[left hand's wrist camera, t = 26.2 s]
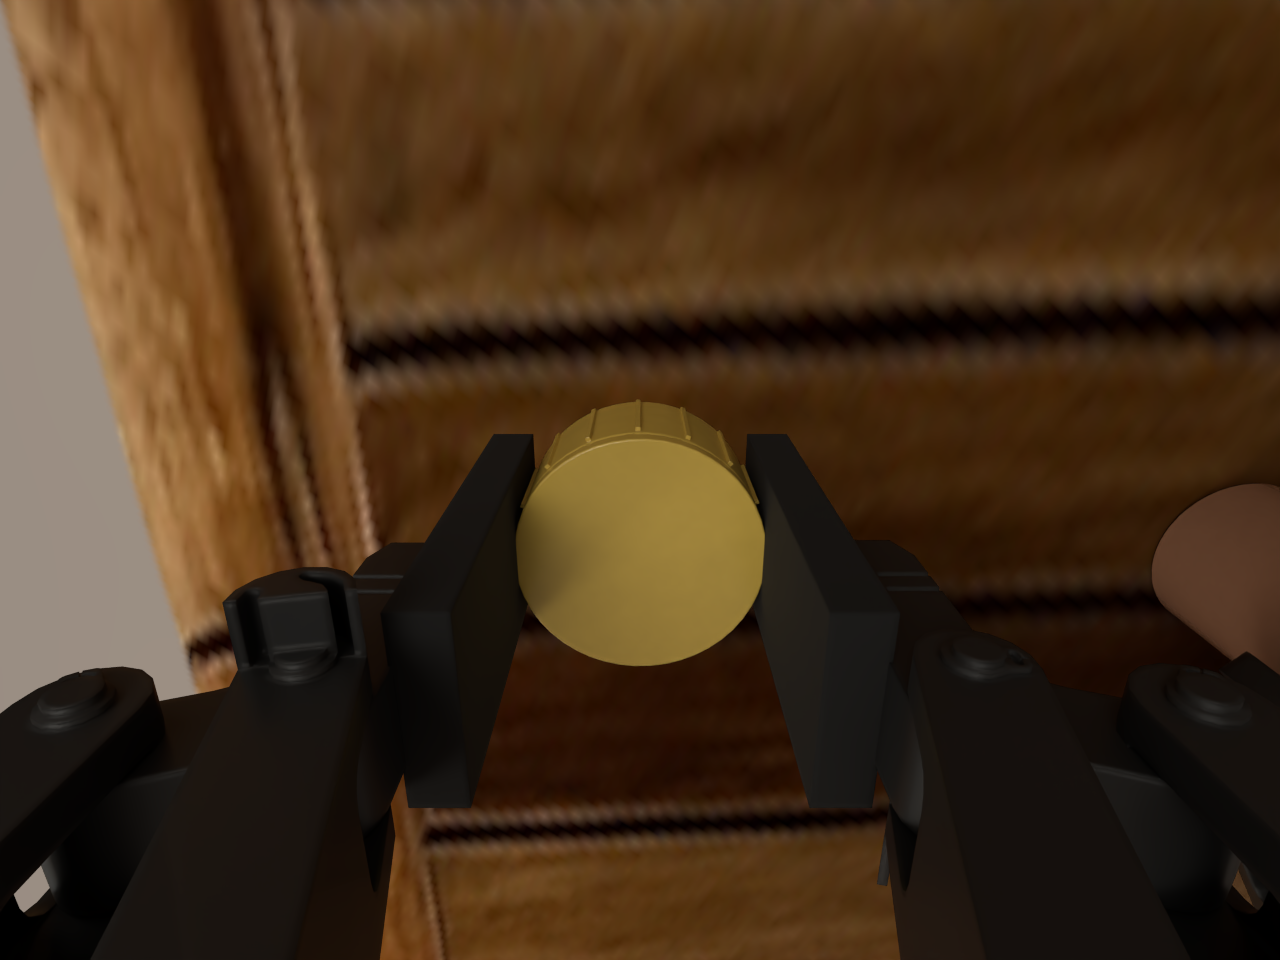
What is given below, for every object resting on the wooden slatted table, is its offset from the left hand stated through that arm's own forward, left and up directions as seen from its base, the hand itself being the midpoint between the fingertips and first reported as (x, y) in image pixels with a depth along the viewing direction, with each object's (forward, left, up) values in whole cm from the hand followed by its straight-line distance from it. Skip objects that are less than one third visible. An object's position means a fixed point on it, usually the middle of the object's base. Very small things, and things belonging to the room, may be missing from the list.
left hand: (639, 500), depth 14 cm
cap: (0, 0, +2) cm, 2 cm away
